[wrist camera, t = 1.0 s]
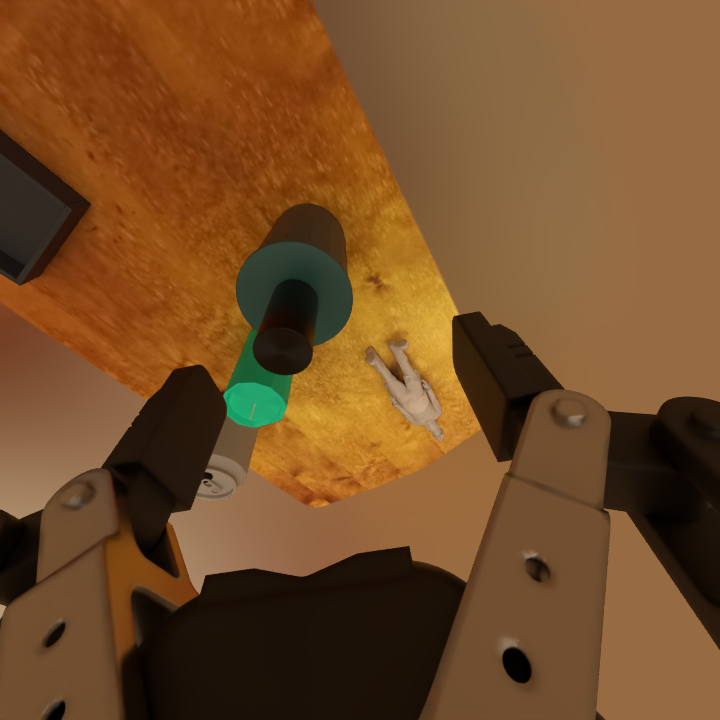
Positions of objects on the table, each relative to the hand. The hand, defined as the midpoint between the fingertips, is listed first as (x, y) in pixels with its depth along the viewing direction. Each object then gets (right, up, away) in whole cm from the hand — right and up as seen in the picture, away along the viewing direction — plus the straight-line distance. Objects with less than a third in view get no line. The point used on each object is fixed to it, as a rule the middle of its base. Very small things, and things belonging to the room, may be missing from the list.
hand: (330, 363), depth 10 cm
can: (-17, -7, +34) cm, 39 cm away
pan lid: (-3, +4, +11) cm, 12 cm away
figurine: (+8, -3, +33) cm, 35 cm away
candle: (-10, +2, +28) cm, 30 cm away
